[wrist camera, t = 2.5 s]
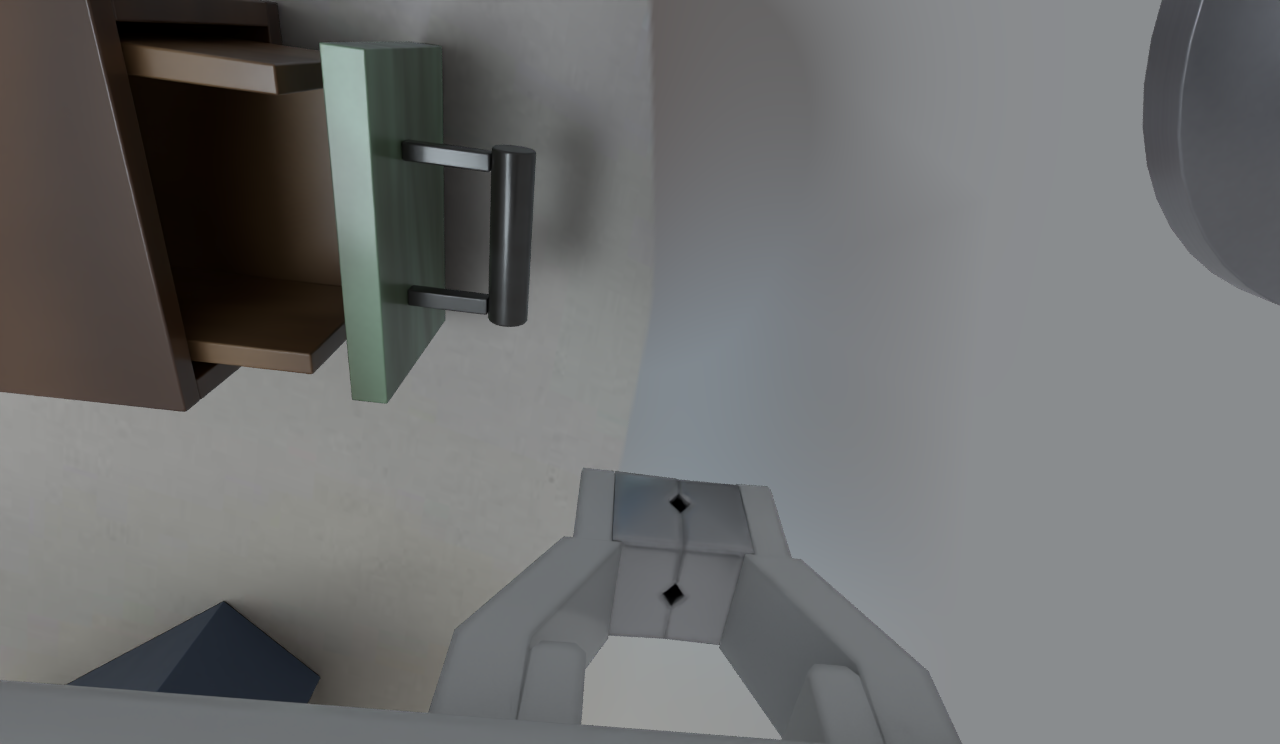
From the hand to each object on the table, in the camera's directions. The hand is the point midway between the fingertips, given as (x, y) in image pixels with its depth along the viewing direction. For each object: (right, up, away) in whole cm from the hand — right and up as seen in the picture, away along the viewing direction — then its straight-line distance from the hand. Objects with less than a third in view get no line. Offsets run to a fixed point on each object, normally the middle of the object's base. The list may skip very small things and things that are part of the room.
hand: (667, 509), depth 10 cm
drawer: (-13, +10, +15) cm, 22 cm away
